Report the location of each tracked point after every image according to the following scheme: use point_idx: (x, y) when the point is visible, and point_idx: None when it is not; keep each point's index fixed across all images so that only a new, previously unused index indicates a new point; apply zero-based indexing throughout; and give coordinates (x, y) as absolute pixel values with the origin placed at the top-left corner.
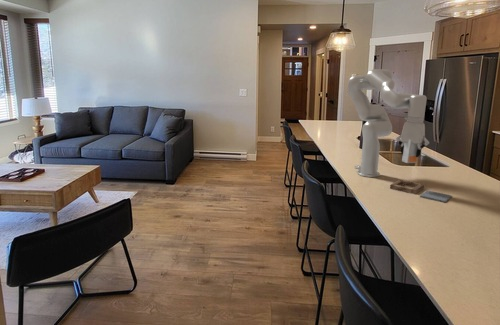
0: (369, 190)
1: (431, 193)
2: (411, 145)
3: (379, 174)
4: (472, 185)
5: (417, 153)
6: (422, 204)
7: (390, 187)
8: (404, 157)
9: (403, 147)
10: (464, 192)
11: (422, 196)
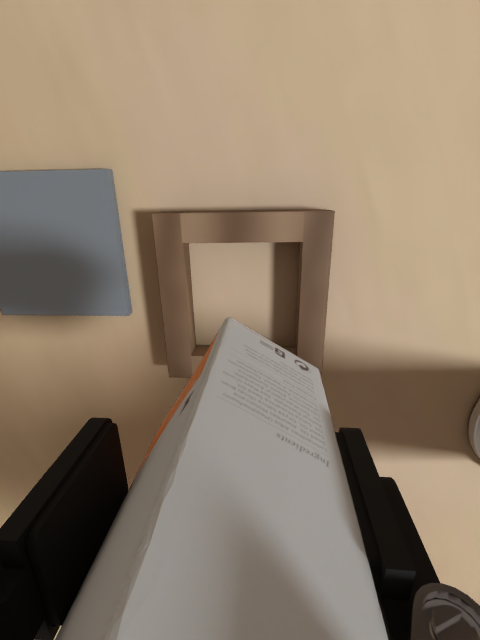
0: (448, 22)
1: (84, 268)
2: (93, 620)
3: (474, 430)
4: None
5: (64, 459)
6: (24, 3)
7: (327, 210)
8: (287, 379)
9: (378, 561)
10: (14, 427)
11: (93, 169)
